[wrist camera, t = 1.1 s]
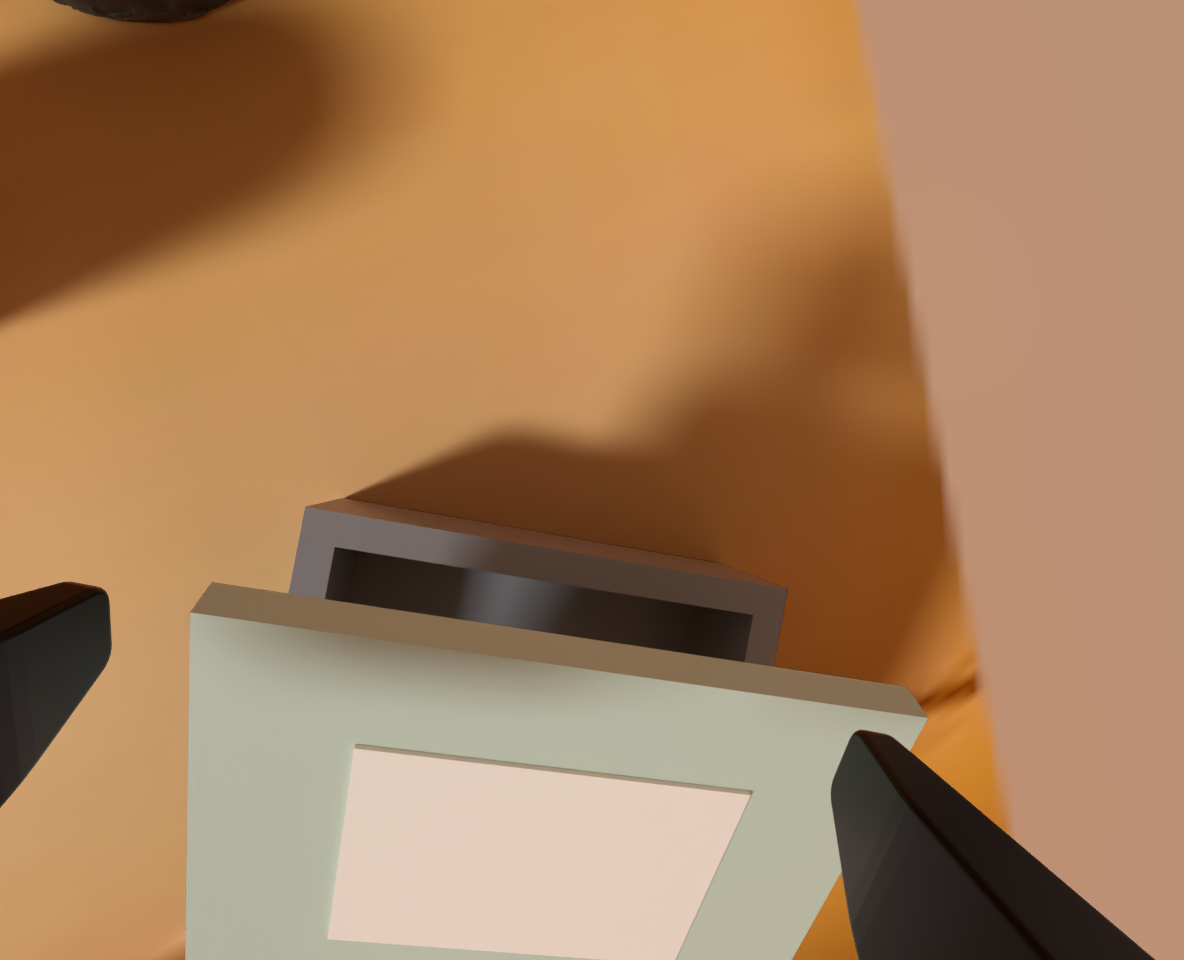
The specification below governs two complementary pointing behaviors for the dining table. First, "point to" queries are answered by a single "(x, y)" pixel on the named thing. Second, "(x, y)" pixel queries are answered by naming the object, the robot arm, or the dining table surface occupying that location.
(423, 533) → the storage box
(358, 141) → the dining table surface
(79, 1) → the pillar candle
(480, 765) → the lid
